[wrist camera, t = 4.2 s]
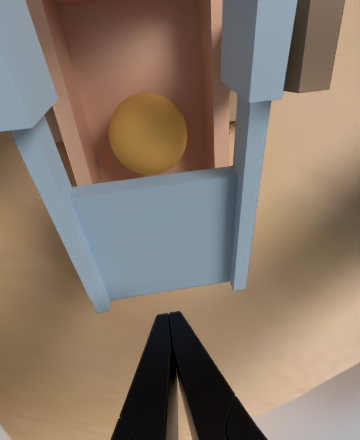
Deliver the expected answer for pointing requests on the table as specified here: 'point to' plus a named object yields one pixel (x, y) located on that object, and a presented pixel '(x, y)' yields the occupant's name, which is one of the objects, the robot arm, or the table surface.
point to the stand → (292, 53)
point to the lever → (155, 185)
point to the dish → (134, 75)
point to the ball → (148, 133)
